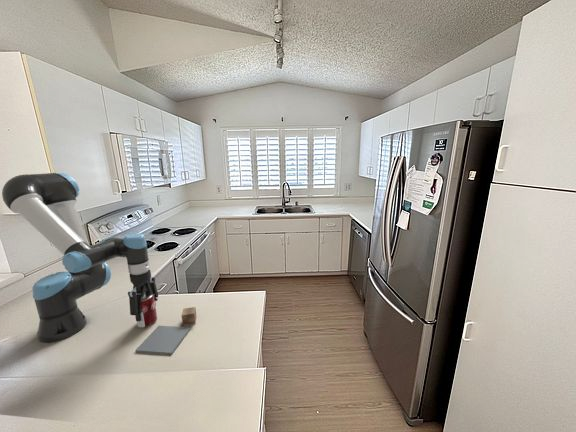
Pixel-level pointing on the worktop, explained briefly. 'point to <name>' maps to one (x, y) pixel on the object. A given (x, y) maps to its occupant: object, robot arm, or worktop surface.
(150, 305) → the soda can
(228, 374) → the worktop surface
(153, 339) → the coaster
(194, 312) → the walnut block
